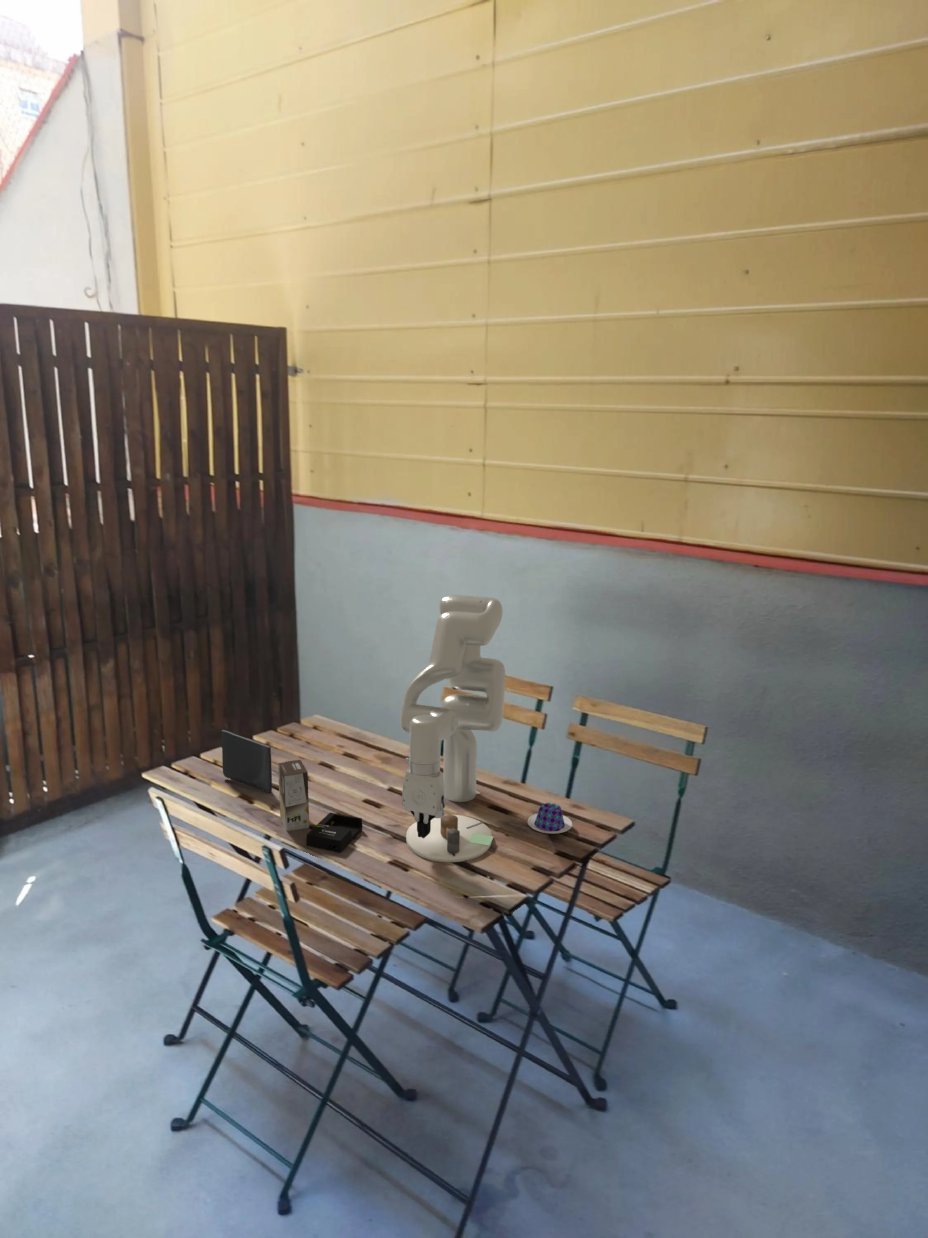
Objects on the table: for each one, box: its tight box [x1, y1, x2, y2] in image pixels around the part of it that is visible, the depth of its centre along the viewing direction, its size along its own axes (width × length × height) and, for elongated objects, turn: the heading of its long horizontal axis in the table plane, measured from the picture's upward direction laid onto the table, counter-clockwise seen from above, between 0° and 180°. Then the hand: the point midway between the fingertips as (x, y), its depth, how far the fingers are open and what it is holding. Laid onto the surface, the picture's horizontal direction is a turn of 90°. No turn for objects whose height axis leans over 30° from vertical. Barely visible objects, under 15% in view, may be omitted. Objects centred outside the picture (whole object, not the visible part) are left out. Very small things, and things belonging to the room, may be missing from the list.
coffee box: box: [277, 759, 310, 832], centre depth 219 cm, size 9×6×16 cm
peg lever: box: [441, 814, 460, 853], centre depth 209 cm, size 13×4×5 cm, turn 8°
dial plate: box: [405, 814, 495, 863], centre depth 214 cm, size 22×22×2 cm
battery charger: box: [305, 812, 363, 854], centre depth 213 cm, size 13×10×4 cm
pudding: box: [527, 802, 573, 834], centre depth 223 cm, size 12×12×5 cm
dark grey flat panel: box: [221, 729, 273, 794], centre depth 241 cm, size 20×2×15 cm, turn 57°
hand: (423, 835), depth 206 cm, fingers closed
